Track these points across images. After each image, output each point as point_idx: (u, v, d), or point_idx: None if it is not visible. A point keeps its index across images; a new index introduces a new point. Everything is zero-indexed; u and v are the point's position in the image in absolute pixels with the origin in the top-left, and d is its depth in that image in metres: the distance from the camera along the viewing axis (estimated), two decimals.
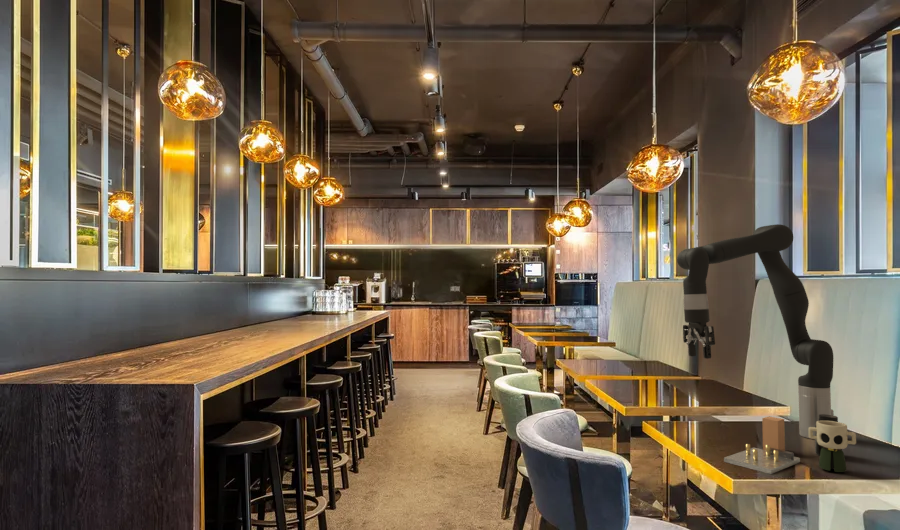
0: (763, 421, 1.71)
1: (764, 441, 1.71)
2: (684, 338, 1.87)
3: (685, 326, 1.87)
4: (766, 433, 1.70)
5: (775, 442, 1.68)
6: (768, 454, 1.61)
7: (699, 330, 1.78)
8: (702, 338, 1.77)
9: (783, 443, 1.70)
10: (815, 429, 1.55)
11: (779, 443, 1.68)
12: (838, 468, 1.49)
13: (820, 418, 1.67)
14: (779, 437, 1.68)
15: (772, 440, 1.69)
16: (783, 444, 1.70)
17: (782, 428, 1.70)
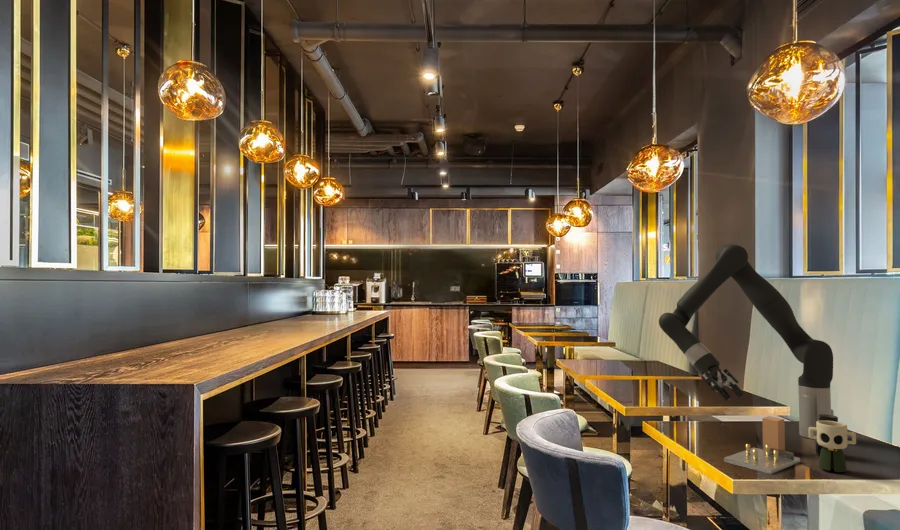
0: (763, 421, 1.71)
1: (764, 441, 1.71)
2: None
3: None
4: (766, 433, 1.70)
5: (775, 442, 1.68)
6: (768, 454, 1.61)
7: None
8: (713, 384, 1.83)
9: (783, 443, 1.70)
10: (815, 429, 1.55)
11: (779, 443, 1.68)
12: (838, 468, 1.49)
13: (820, 418, 1.67)
14: (779, 437, 1.68)
15: (772, 440, 1.69)
16: (783, 444, 1.70)
17: (782, 428, 1.70)
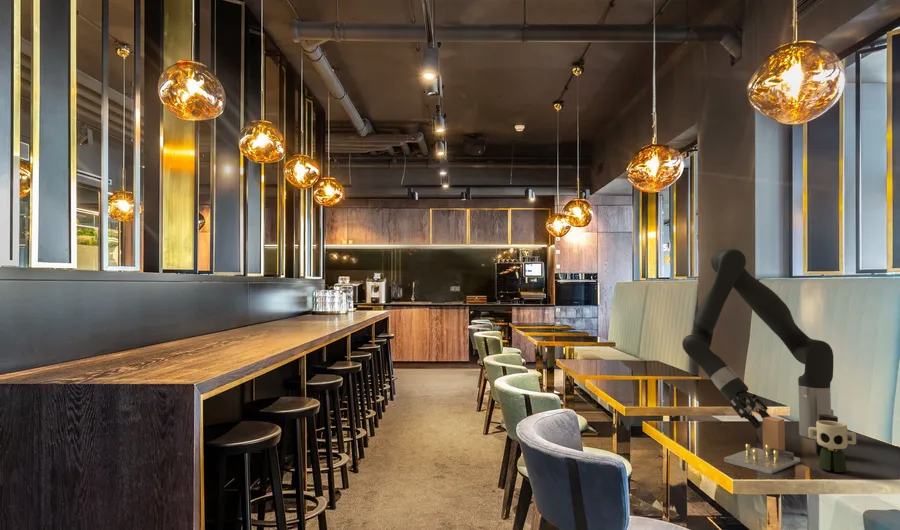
0: (763, 421, 1.71)
1: (764, 441, 1.71)
2: None
3: None
4: (766, 433, 1.70)
5: (775, 442, 1.68)
6: (768, 454, 1.61)
7: None
8: (742, 411, 1.75)
9: (783, 443, 1.70)
10: (815, 429, 1.55)
11: (779, 443, 1.68)
12: (838, 468, 1.49)
13: (820, 418, 1.67)
14: (779, 437, 1.68)
15: (772, 440, 1.69)
16: (783, 444, 1.70)
17: (782, 428, 1.70)
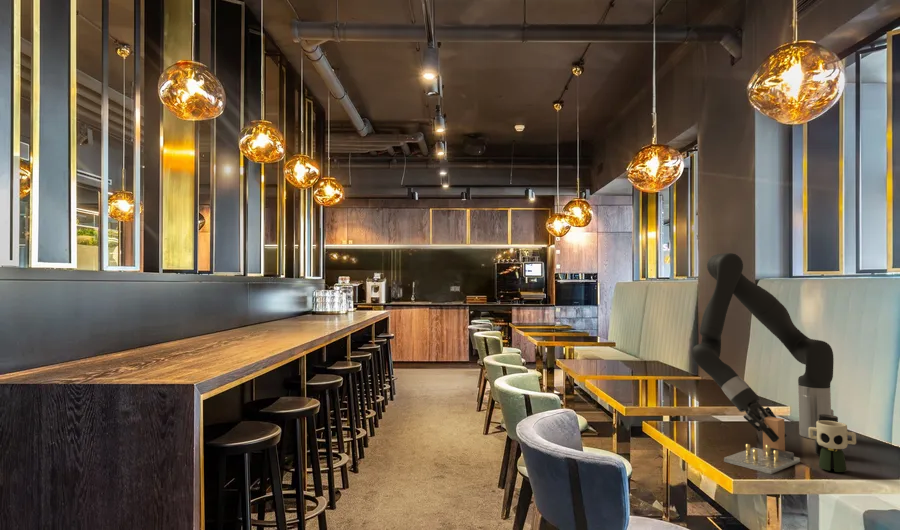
0: None
1: (764, 441, 1.71)
2: None
3: None
4: None
5: (775, 442, 1.68)
6: (768, 454, 1.61)
7: None
8: (757, 424, 1.72)
9: (783, 443, 1.70)
10: (815, 429, 1.55)
11: (779, 443, 1.68)
12: (838, 468, 1.49)
13: (820, 418, 1.67)
14: (779, 437, 1.68)
15: None
16: (783, 444, 1.70)
17: (782, 428, 1.70)
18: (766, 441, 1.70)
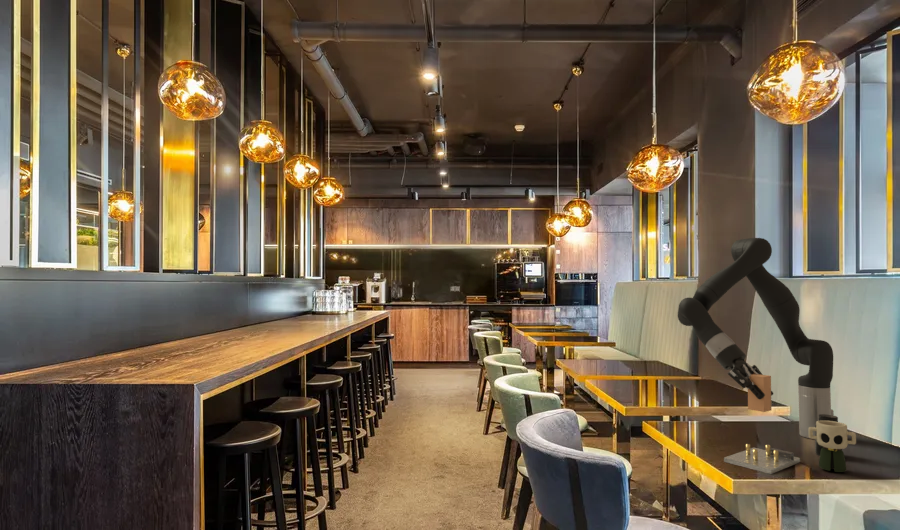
0: None
1: (749, 399, 1.61)
2: None
3: None
4: None
5: (761, 399, 1.58)
6: (768, 454, 1.61)
7: None
8: (742, 381, 1.62)
9: (769, 401, 1.59)
10: (815, 429, 1.55)
11: (765, 400, 1.58)
12: (838, 468, 1.49)
13: (820, 418, 1.67)
14: (765, 394, 1.58)
15: (757, 398, 1.59)
16: (769, 402, 1.59)
17: (768, 385, 1.59)
18: (751, 399, 1.60)
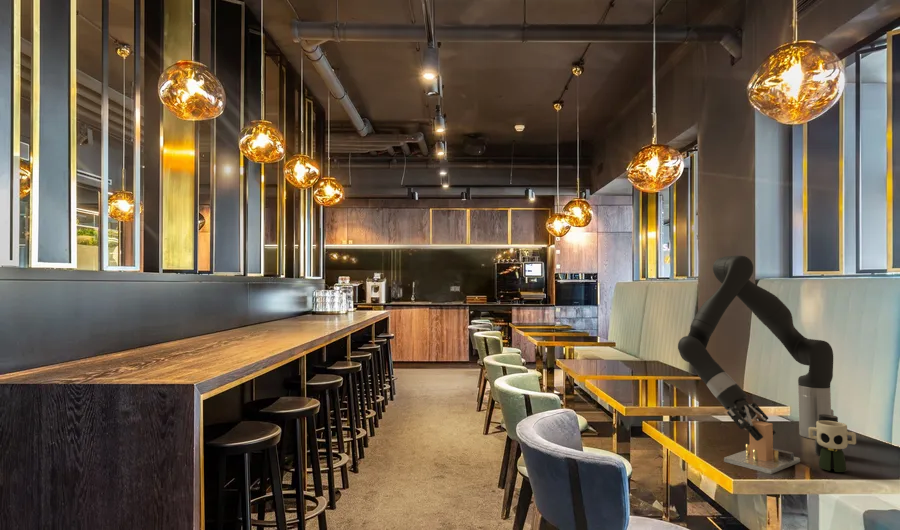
0: None
1: (751, 447, 1.60)
2: None
3: None
4: (753, 439, 1.59)
5: (763, 448, 1.57)
6: None
7: None
8: (741, 421, 1.61)
9: (771, 449, 1.59)
10: (815, 429, 1.55)
11: (767, 449, 1.57)
12: (838, 468, 1.49)
13: (820, 418, 1.67)
14: (767, 443, 1.57)
15: (759, 446, 1.58)
16: (771, 451, 1.59)
17: (770, 433, 1.59)
18: (753, 447, 1.59)
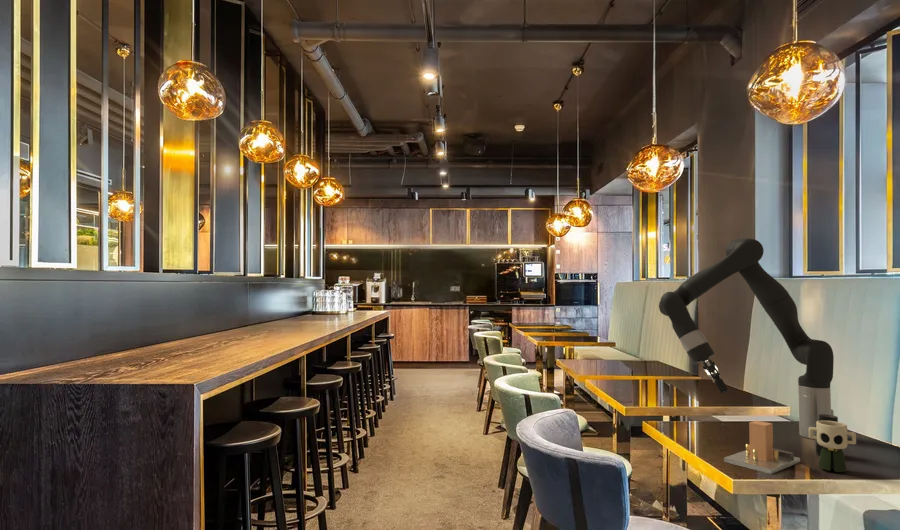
0: (750, 426, 1.60)
1: (751, 447, 1.60)
2: None
3: None
4: (753, 439, 1.59)
5: (763, 448, 1.57)
6: None
7: (705, 367, 1.77)
8: (710, 373, 1.75)
9: (771, 449, 1.59)
10: (815, 429, 1.55)
11: (767, 449, 1.57)
12: (838, 468, 1.49)
13: (820, 418, 1.67)
14: (767, 443, 1.57)
15: (759, 446, 1.58)
16: (771, 451, 1.59)
17: (770, 433, 1.59)
18: (753, 447, 1.59)
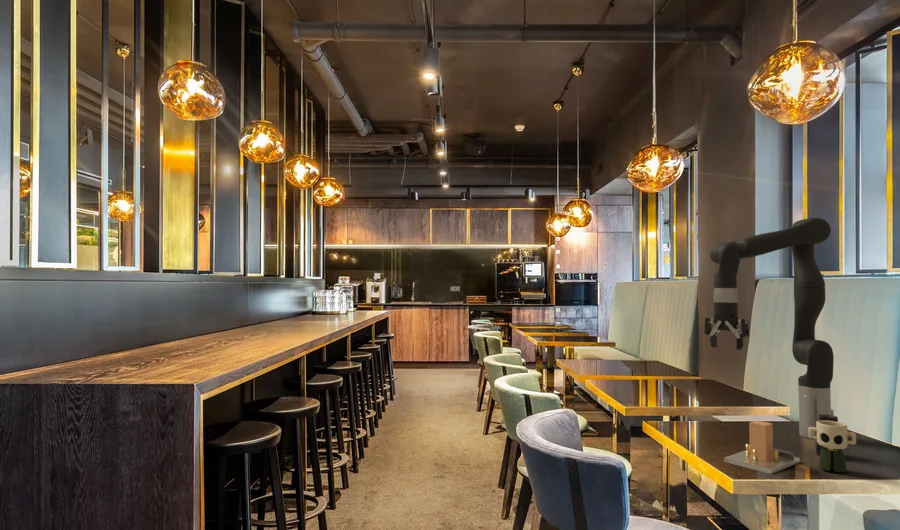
0: (750, 426, 1.60)
1: (751, 447, 1.60)
2: (706, 330, 1.93)
3: (708, 318, 1.93)
4: (753, 439, 1.59)
5: (763, 448, 1.57)
6: None
7: (732, 322, 1.86)
8: (736, 330, 1.85)
9: (771, 449, 1.59)
10: (815, 429, 1.55)
11: (767, 449, 1.57)
12: (838, 468, 1.49)
13: (820, 418, 1.67)
14: (767, 443, 1.57)
15: (759, 446, 1.58)
16: (771, 451, 1.59)
17: (770, 433, 1.59)
18: (753, 447, 1.59)
